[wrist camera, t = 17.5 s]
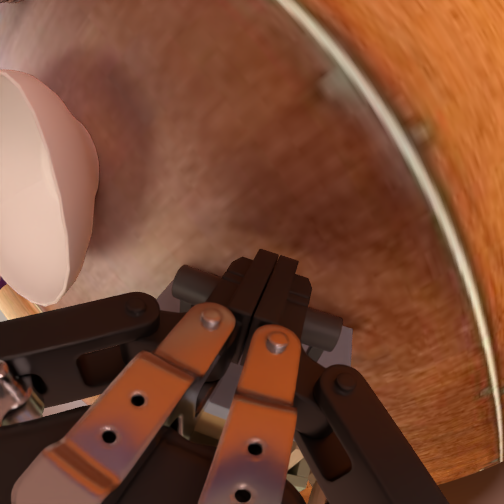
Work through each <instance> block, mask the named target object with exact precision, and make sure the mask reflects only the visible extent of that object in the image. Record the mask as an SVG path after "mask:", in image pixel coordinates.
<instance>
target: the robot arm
mask: <svg viewBox="0 0 504 504" xmlns="http://www.w3.org/2000/svg"><path fill="white" fill-rule="evenodd" d="M21 1H23V0H0V3H5V2H8V3H19V2H21ZM278 257H279V254H275V253H272V252H269V251H266V250H263V249H259V251H258V253H257V255H256V256H255V258H254V260H251V259H248V258H245V257H241V258H239V259H237V260H235V261H233V262H232V263H231V265H230V266H229V268H228V269H227V272H225V274H224V275H223V277H222V278H221V280H220V281H219V283H218V284H217V285H216V287H215V288H214V290H213V291H212V293H211V294H210V296H209V297H208V299H207V300H206V302H204V303H199V304H197V305H195V306H193V307H192V308H191V309H190V310H189V311H188V312H184V313H179V312H171V311H164V310H160V306H159V303H158V302H157V300H156V299H155V298H154V297H152V296H151V295H149V294H146V293H142V292H131V293H126V294H122V295H117V296H113V297H109V298H105V299H100V300H96V301H92V302H87V303H83V304H79V305H74V306H70V307H65V308H61V309H57V310H52V311H48V312H43V313H39V314H34V315H30V316H25V317H21V318H16V319H12V320H7V321H3V322H0V504H306V503H305V501H304V499H303V497H302V496H301V494H300V493H299V491H298V490H297V489H296V488H295V487H294V486H293V485H292V484H291V483H290V482H289V481H288V480H287V479H286V477H287V472H288V467H289V461H290V456H291V450H292V445H293V439H294V440H295V441H296V443H297V445H298V447H299V449H300V451H301V453H302V455H303V457H304V458H305V460H306V462H307V464H308V466H309V468H310V470H311V471H312V473H313V475H314V477H315V479H316V481H317V482H318V484H319V486H320V488H321V490H322V491H323V493H324V495H325V497H326V498H327V500H328V502H329V504H449V503H448V501H447V500H446V498H445V497H444V495H443V494H442V492H441V490H440V489H439V487H438V486H437V484H436V483H435V481H434V480H433V478H432V477H431V475H430V474H429V472H428V471H427V469H426V468H425V466H424V465H423V463H422V462H421V460H420V459H419V457H418V456H417V454H416V453H415V451H414V450H413V448H412V447H411V445H410V444H409V442H408V441H407V440H406V438H405V437H404V435H403V434H402V432H401V431H400V429H399V428H398V426H397V425H396V423H395V422H394V420H393V419H392V418H391V416H390V415H389V413H388V412H387V410H386V409H385V407H384V406H383V405H382V403H381V402H380V400H379V399H378V397H377V396H376V394H375V393H374V392H373V390H372V389H371V387H370V386H369V384H368V383H367V382H366V380H365V379H364V377H363V376H362V375H361V374H360V373H359V372H358V371H357V370H356V369H354V368H352V367H350V366H347V365H343V364H335V365H331V366H329V367H327V368H325V367H324V366H322V365H320V364H319V363H317V362H315V361H314V360H313V359H311V358H310V357H309V356H308V355H307V354H306V352H305V351H304V349H303V347H302V344H301V335H302V331H303V327H304V322H305V318H306V313H307V309H308V304H309V300H310V295H311V291H312V287H311V284H310V282H309V279H308V278H306V277H303V276H300V275H297V274H295V272H296V269H297V265H298V262H299V261H297V260H294V259H291V258H288V257H285V256H282V255H280V257H279V259H278ZM277 260H278V261H277ZM116 345H117V346H116ZM112 346H113V347H112ZM109 347H110V348H109ZM105 348H106V349H105ZM101 349H102V350H101ZM97 350H98V351H97ZM93 351H94V352H93ZM243 351H244V352H243ZM89 352H90V353H89ZM85 353H86V354H85ZM242 354H243V355H242ZM241 356H242V359H241V362H240V365H241V366H243V369H242V372H241V375H240V378H239V382H238V385H237V388H236V391H235V394H234V397H233V400H232V403H231V406H230V409H229V412H228V416H227V419H226V422H225V425H224V428H223V431H222V434H221V437H220V440H219V443H218V446H217V447H216V446H209V445H203V444H197V443H193V442H190V441H189V440H190V438H191V436H192V433H193V431H194V428H195V426H196V424H197V422H198V420H199V418H200V417H201V415H202V413H203V412H204V410H205V408H206V407H207V405H208V403H209V402H210V400H211V398H212V397H213V395H214V393H215V392H216V390H217V388H218V387H219V385H220V383H221V382H222V379H223V376H224V375H225V373H226V371H227V369H228V367H229V365H230V363H231V362H232V363H235V364H237V365H238V363H239V360H240V358H241ZM99 394H101V395H100V396H99V397H98V398H97V400H96V401H95V402H94V403H93V404H92V405H88V406H82V407H78V408H75V409H71V410H67V411H64V412H60V413H57V414H53V415H49V416H45V417H42V413H43V410H44V408H47V407H52V406H56V405H60V404H65V403H69V402H73V401H76V400H81V399H85V398H88V397H92V396H96V395H99Z"/></svg>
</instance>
